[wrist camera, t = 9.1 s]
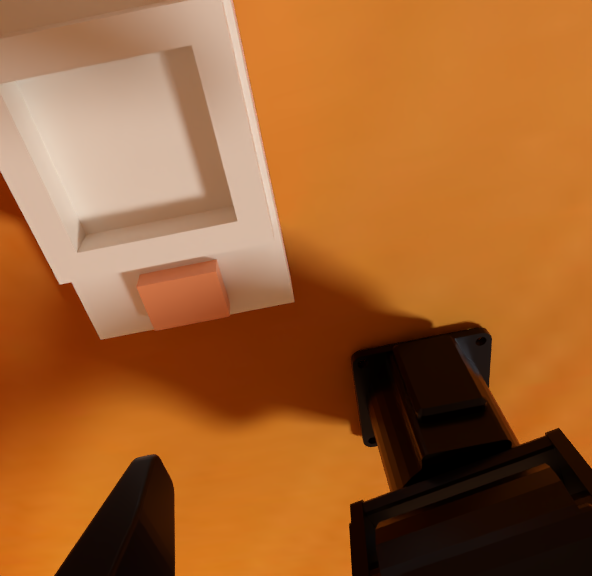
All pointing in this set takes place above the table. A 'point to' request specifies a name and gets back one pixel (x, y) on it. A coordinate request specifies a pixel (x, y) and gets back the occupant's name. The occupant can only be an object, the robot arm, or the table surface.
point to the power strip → (140, 159)
